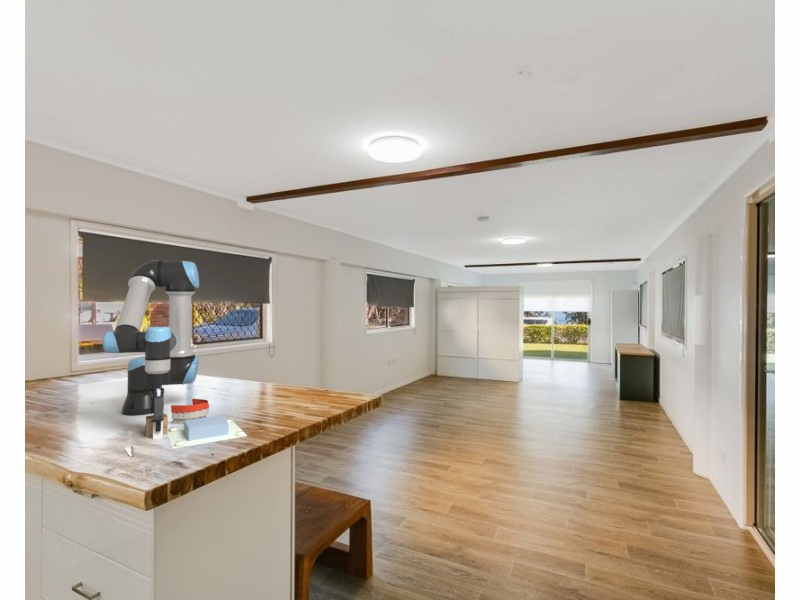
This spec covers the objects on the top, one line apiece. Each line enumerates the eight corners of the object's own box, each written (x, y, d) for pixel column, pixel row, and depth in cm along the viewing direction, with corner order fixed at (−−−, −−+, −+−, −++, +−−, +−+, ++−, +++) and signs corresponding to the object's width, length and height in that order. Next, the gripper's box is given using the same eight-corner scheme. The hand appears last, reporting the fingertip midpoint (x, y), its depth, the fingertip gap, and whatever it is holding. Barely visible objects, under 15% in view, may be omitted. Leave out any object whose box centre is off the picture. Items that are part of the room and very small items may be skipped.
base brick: (183, 431, 140) (184, 420, 140) (221, 426, 147) (221, 415, 147) (188, 441, 130) (188, 428, 130) (228, 434, 137) (228, 422, 137)
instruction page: (124, 448, 127) (124, 447, 127) (149, 443, 131) (149, 442, 131) (130, 457, 119) (130, 456, 119) (157, 451, 124) (157, 450, 124)
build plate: (165, 433, 141) (166, 427, 142) (232, 424, 154) (232, 418, 154) (172, 452, 123) (172, 445, 123) (247, 439, 136) (247, 432, 136)
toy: (194, 429, 147) (194, 407, 148) (169, 427, 149) (169, 405, 150) (216, 420, 160) (216, 399, 160) (193, 418, 162) (193, 398, 162)
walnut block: (145, 436, 139) (145, 416, 139) (165, 433, 142) (166, 413, 142) (146, 441, 134) (146, 419, 134) (167, 438, 137) (167, 417, 138)
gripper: (143, 368, 146) (141, 429, 146) (146, 377, 127) (145, 448, 126) (166, 367, 150) (165, 426, 150) (173, 375, 131) (172, 443, 131)
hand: (156, 436), depth 138 cm, fingers open, 11 cm apart
